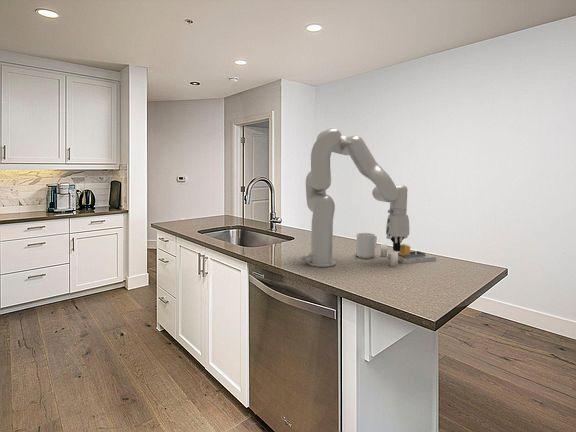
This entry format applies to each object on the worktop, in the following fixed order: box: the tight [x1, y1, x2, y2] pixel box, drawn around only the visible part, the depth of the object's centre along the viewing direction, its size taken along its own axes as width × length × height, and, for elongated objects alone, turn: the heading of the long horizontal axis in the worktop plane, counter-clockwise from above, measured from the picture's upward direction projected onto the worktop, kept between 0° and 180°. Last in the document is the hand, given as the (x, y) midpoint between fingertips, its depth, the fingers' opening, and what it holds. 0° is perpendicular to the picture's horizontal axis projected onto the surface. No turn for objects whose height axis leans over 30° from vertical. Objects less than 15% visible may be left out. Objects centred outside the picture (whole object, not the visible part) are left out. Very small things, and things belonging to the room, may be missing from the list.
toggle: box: [398, 243, 411, 256], centre depth 174 cm, size 3×4×5 cm
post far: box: [380, 243, 388, 258], centre depth 182 cm, size 3×3×6 cm
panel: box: [387, 250, 437, 265], centre depth 175 cm, size 18×12×3 cm, turn 108°
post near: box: [390, 251, 399, 268], centre depth 163 cm, size 3×3×6 cm
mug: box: [355, 232, 378, 259], centre depth 181 cm, size 12×9×11 cm
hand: (396, 250), depth 172 cm, fingers closed
